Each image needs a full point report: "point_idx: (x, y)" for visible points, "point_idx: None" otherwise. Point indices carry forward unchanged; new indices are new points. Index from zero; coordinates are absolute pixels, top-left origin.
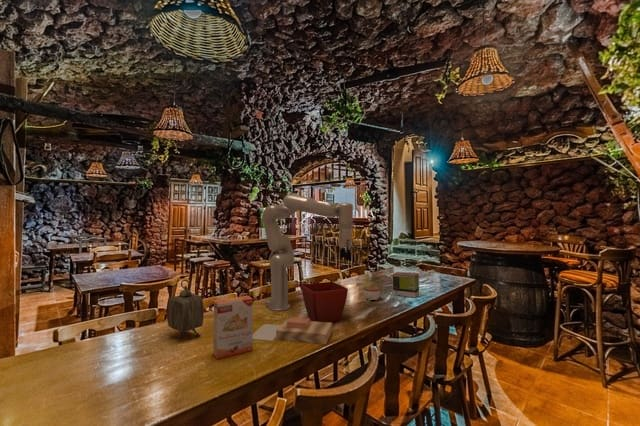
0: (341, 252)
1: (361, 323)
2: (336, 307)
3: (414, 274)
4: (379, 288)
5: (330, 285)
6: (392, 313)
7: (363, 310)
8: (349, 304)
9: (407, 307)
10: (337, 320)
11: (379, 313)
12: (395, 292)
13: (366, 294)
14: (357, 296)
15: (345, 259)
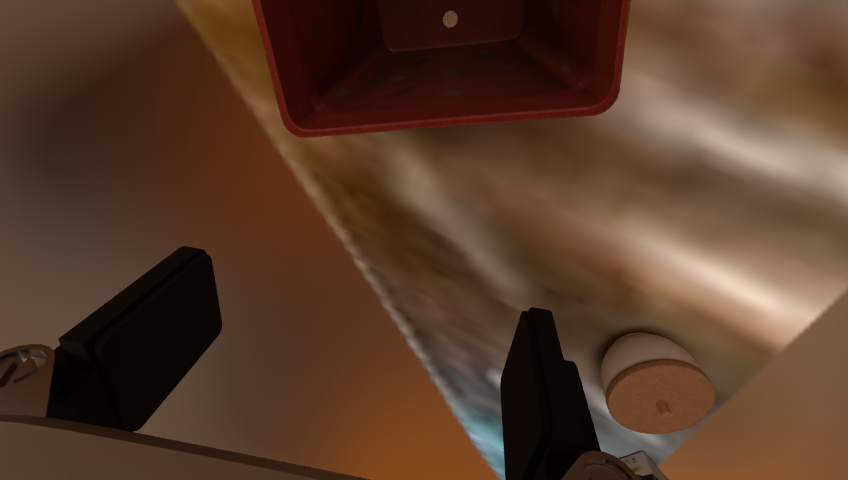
0: (532, 397)
1: (330, 149)
2: (331, 21)
3: None
4: (618, 420)
5: (600, 79)
6: (416, 323)
7: (499, 241)
8: (627, 222)
9: (464, 402)
10: (378, 37)
11: (433, 281)
12: (637, 466)
13: (642, 344)
14: (738, 322)
15: (182, 256)
